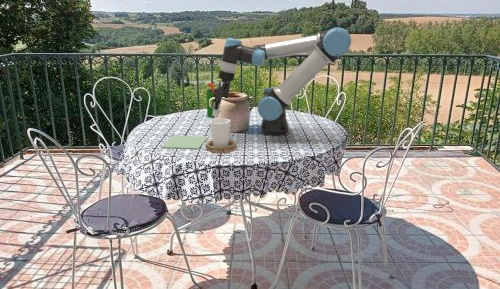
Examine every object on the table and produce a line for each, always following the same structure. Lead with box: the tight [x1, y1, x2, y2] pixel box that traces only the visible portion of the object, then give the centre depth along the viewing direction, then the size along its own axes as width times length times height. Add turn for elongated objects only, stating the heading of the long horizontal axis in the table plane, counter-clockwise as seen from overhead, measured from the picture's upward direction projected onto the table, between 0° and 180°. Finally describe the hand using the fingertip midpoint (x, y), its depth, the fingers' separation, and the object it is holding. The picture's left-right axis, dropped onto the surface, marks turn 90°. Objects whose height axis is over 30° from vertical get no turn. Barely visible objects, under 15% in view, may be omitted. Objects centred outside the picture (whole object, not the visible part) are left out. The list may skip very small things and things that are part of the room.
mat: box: [161, 135, 209, 150], centre depth 191 cm, size 18×18×1 cm
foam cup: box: [209, 117, 231, 148], centre depth 180 cm, size 10×9×13 cm
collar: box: [205, 139, 237, 154], centre depth 182 cm, size 13×13×2 cm
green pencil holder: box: [205, 82, 218, 119], centre depth 238 cm, size 10×9×20 cm
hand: (218, 114), depth 193 cm, fingers open, 13 cm apart
